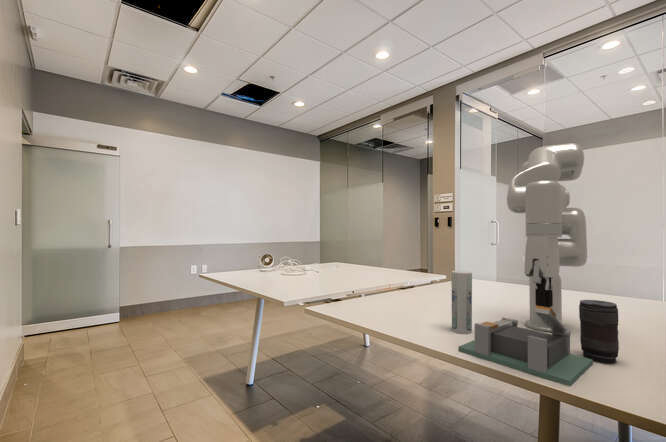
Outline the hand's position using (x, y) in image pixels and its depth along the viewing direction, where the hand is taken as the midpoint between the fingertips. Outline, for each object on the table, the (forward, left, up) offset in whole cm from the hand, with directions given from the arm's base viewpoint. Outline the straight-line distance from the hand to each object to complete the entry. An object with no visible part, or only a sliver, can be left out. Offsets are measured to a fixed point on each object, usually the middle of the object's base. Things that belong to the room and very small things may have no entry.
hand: (544, 305), depth 79 cm
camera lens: (-20, +6, -16) cm, 26 cm away
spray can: (-13, -29, -16) cm, 35 cm away
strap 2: (-5, 0, -5) cm, 7 cm away
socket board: (-4, -7, -16) cm, 17 cm away
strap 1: (-4, -13, -9) cm, 16 cm away
